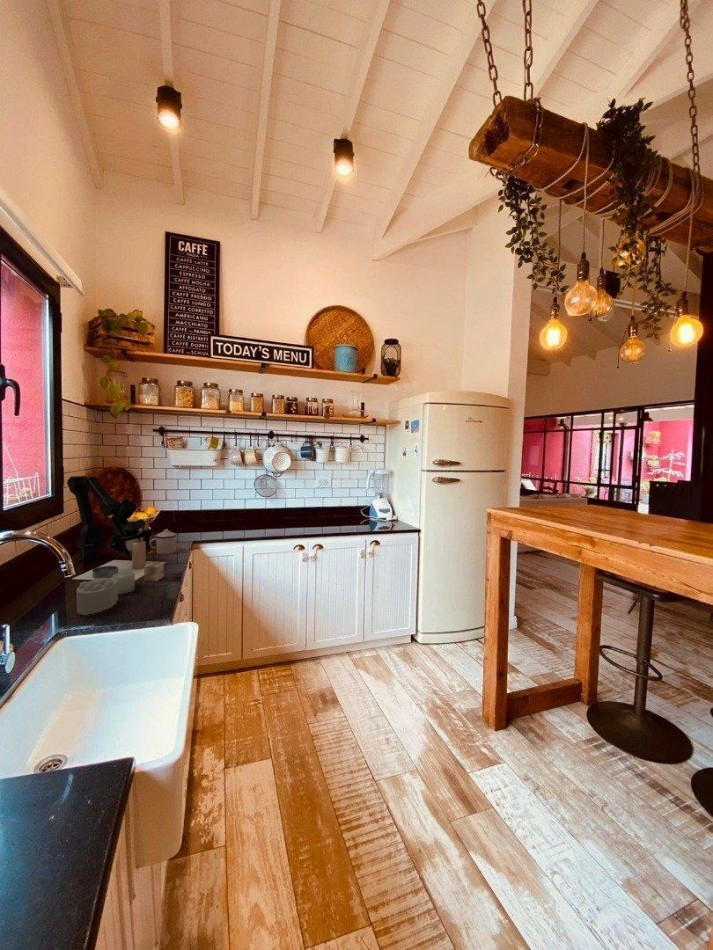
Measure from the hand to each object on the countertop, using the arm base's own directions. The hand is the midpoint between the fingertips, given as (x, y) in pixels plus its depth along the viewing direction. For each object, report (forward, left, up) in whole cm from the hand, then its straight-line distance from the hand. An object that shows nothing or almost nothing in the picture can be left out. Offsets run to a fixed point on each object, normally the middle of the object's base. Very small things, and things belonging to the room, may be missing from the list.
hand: (140, 554), depth 169 cm
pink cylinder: (-1, 0, -6) cm, 6 cm away
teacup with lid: (-5, +29, -8) cm, 31 cm away
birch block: (+13, -13, -7) cm, 19 cm away
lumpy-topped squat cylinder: (+7, -38, -8) cm, 39 cm away
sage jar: (+7, -23, -7) cm, 25 cm away
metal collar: (-8, -11, -6) cm, 15 cm away
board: (-5, -4, -7) cm, 10 cm away
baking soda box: (-19, +30, -8) cm, 37 cm away
